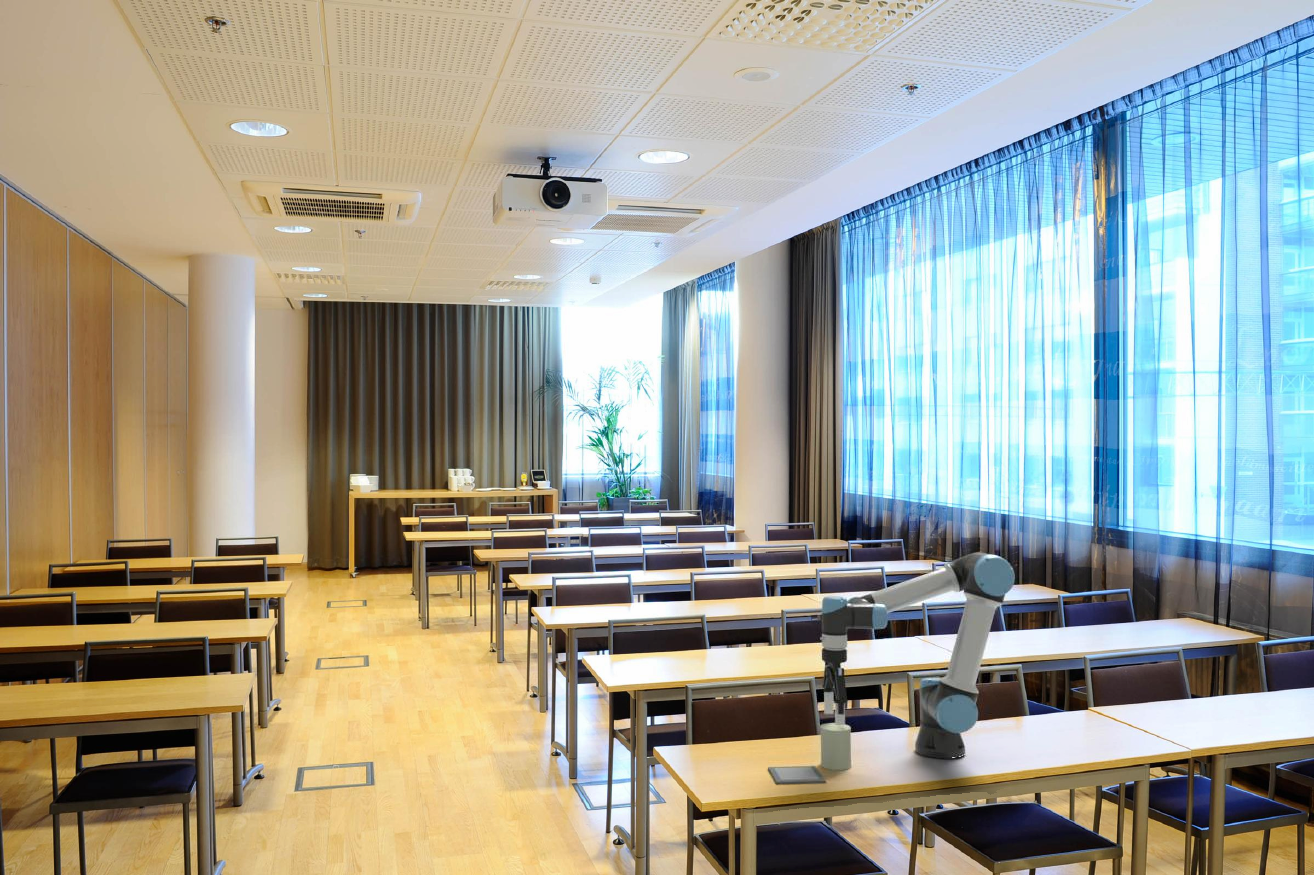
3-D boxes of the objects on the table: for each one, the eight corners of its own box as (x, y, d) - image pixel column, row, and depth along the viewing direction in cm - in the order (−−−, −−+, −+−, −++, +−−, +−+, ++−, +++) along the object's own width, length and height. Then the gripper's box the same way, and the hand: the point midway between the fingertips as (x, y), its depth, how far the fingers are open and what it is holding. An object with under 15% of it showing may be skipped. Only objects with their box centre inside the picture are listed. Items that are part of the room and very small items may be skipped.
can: (836, 772, 276) (836, 730, 277) (814, 764, 284) (813, 724, 284) (858, 766, 282) (857, 725, 282) (835, 759, 289) (834, 719, 290)
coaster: (814, 768, 280) (814, 765, 280) (825, 782, 266) (825, 780, 266) (768, 769, 280) (768, 766, 280) (776, 784, 266) (776, 781, 266)
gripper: (812, 641, 297) (812, 709, 296) (832, 655, 272) (832, 730, 271) (836, 641, 297) (836, 709, 296) (857, 655, 272) (857, 729, 271)
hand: (834, 719), depth 283 cm, fingers open, 13 cm apart
